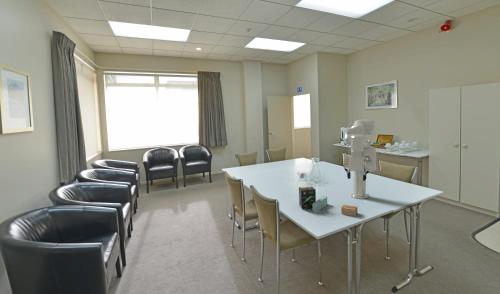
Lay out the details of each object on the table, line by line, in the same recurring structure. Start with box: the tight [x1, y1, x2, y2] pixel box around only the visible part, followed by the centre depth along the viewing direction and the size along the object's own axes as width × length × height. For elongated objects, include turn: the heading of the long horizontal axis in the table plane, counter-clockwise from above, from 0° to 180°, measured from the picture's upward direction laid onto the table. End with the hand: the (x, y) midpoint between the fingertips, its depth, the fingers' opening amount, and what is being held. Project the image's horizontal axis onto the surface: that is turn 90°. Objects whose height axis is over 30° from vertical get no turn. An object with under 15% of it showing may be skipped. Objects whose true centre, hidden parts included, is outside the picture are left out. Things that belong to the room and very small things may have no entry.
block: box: [340, 203, 359, 217], centre depth 169 cm, size 7×9×5 cm
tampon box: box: [298, 186, 317, 210], centre depth 184 cm, size 11×9×15 cm
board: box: [312, 195, 328, 214], centre depth 181 cm, size 20×3×6 cm, turn 141°
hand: (356, 179), depth 161 cm, fingers open, 9 cm apart
